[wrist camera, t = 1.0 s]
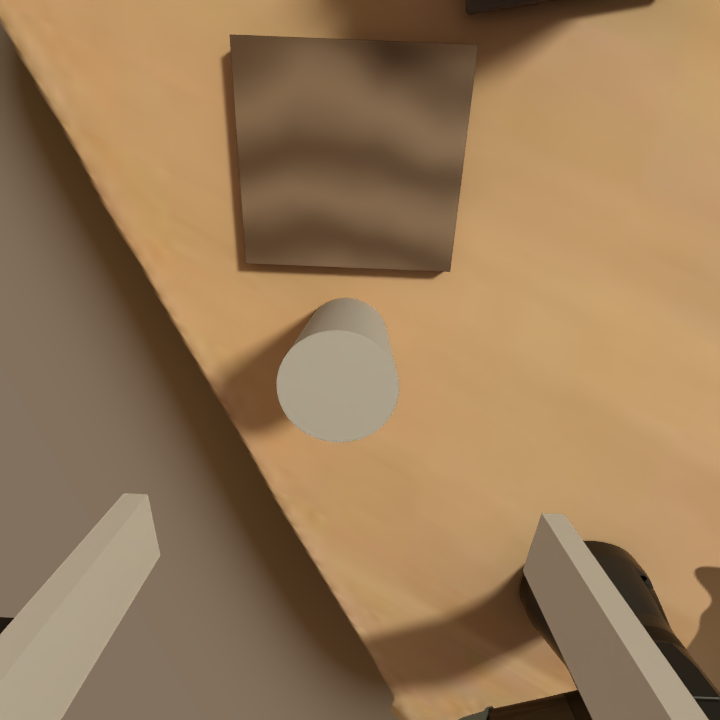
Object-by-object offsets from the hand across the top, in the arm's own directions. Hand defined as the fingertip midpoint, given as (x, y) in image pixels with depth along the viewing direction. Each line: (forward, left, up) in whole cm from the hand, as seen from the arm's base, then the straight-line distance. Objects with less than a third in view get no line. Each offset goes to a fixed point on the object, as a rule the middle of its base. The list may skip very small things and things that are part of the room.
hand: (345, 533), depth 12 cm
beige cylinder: (0, +1, -24) cm, 24 cm away
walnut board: (+15, +1, -24) cm, 28 cm away
